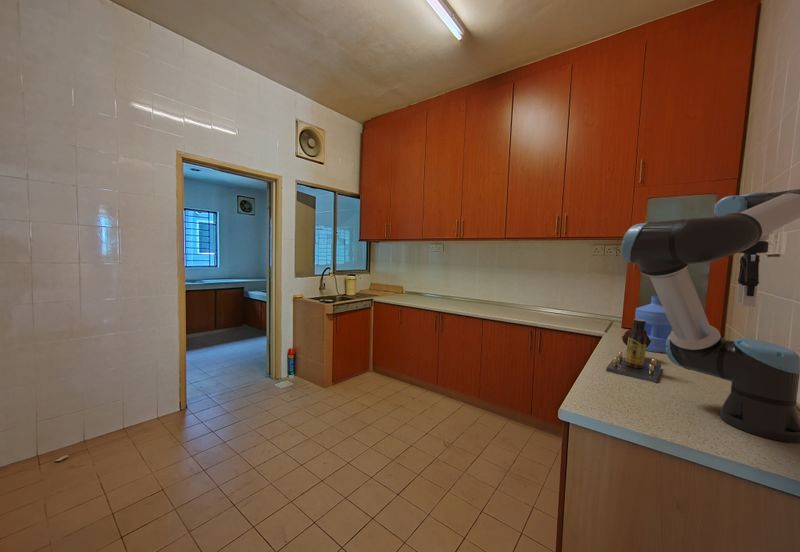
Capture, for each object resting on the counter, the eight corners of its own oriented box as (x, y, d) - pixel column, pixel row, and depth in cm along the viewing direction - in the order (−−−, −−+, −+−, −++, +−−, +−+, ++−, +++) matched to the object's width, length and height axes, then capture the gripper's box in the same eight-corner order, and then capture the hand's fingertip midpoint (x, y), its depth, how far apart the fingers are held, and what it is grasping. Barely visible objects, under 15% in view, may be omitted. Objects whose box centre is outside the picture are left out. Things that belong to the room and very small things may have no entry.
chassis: (656, 382, 115) (657, 369, 115) (606, 371, 126) (607, 359, 126) (661, 368, 131) (661, 357, 131) (615, 359, 142) (616, 348, 142)
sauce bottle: (621, 363, 132) (625, 317, 131) (636, 363, 132) (640, 318, 131) (632, 368, 125) (636, 320, 124) (648, 369, 125) (652, 321, 124)
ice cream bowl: (650, 358, 146) (652, 327, 145) (648, 363, 138) (650, 330, 137) (622, 353, 153) (625, 323, 152) (619, 357, 145) (621, 326, 144)
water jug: (632, 343, 174) (635, 294, 172) (668, 348, 165) (673, 296, 163) (633, 349, 161) (637, 296, 160) (672, 355, 152) (677, 299, 150)
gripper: (777, 237, 90) (770, 309, 91) (761, 243, 108) (755, 302, 110) (739, 238, 95) (733, 306, 96) (730, 243, 113) (725, 300, 115)
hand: (745, 304), depth 103 cm, fingers open, 13 cm apart
